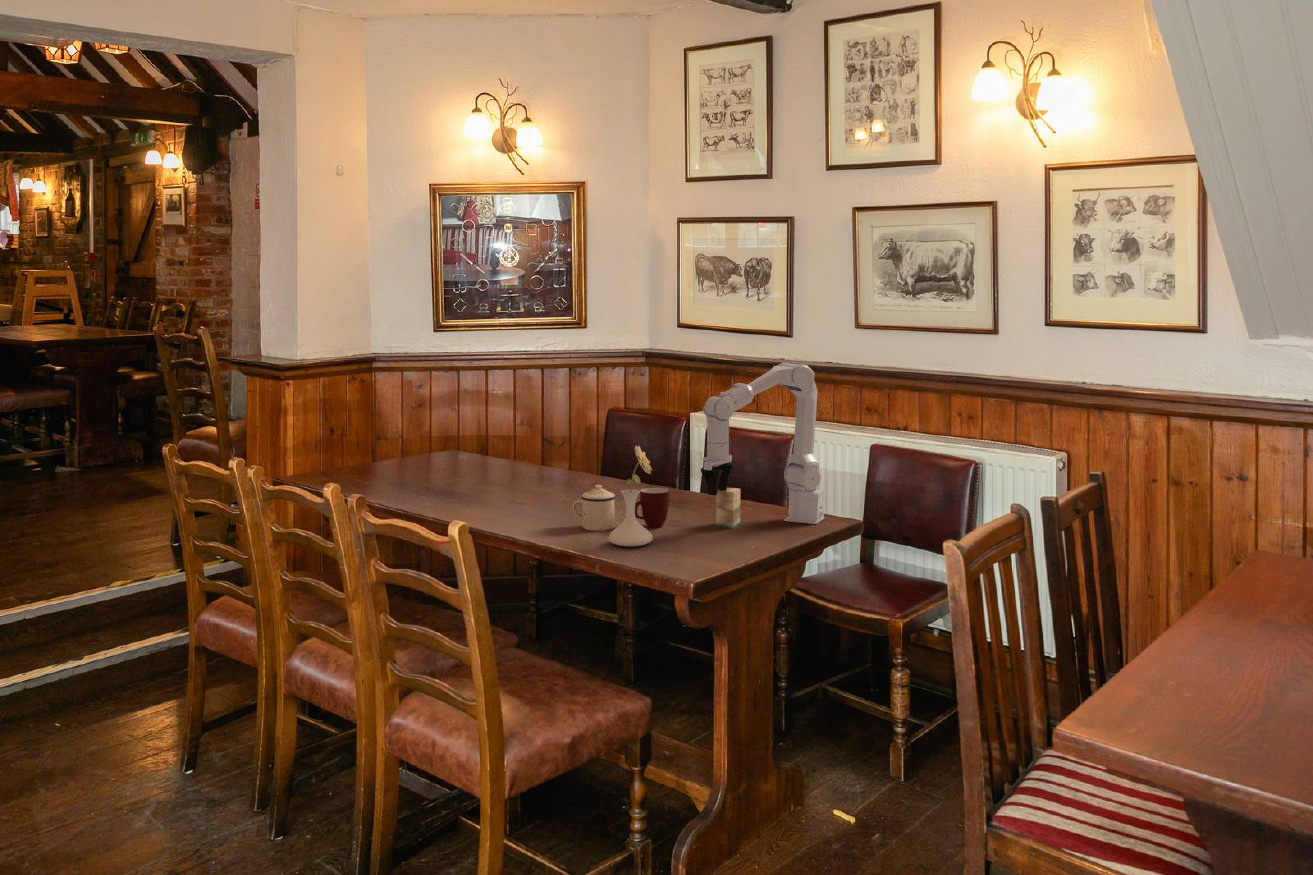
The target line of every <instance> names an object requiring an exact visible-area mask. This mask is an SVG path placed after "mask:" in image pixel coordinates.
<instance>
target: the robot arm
mask: <svg viewBox="0 0 1313 875" xmlns="http://www.w3.org/2000/svg"><path fill="white" fill-rule="evenodd" d="M815 374H816V373H815V371H813V369H812V368H811V367H809V365H806V364H803V363H802V364H797V363H790V362H781V363H779V364H778V365H773V367H772V368H771V369H769V371H767V372H765V373H763V374H761V376H759V377H757V378H755V379H754V380H753V381H751V382H750V383H747V384H746V383H743V382H741V383H739V382H736V383H734V384H733V387H732V388H730V389H728V390H726V391H721V392H719V395H718V396H715V395H714V396H710V397H709V398H708V399H707V400H706V401H705V403H704V406H702V411H703V414H704V415H705V417H706V422H707V423H706V424H707V425H706V431H707V432H706V434H707V437H706V439H707V440H706V443H707V444H706V445H707V446H706V448H707V449H706V455H707V456H705V457H703V458H702V460H703V467H702V468H700V472H701V473H700V474H702V476H703V479H704V481H705V484H706V488H707V492H708V496H716V495H717V493H718V490H719V491H726V490H727V488H729V487H728V486H729V482H730V478H731V475H732V472H733V471H734V469H735V467H736V466H735V463H733V462H732V461H733V460H732V459H733V458H732V457H733V456H732V454H730V419H731V417H732V416H733V415H734V412H736V411H738V410H739V409H741V408H744V407H745V406H747V405H749V404H750V403H752V402H753V401H754V400H753V399H754V396H755V395H758V394H760V393H762V392H764V391H766V390H768V389H770V388H771V387H774V386H777V385H781V386H782V387H784V388H787V389H788V390H790V391H791V393H792V394H793V395H794V396H795V397H796V409H795V410H796V411H795V422H794V423H795V424H794V426H795V427H794V439H793V451H792V452H793V453H792V454H791V456H789V457H788V458H787V464H786V467H785V468H784V471H783V478H784V481H785V482H786V483H787V484H788V485H787V487H788V488H789V489H788V493H789V494H788V516H787V517H785V518H784V519H783V521H785V522H791V523H792V522H793V523H802V524H810V525H811V524H812V525H816V524H818V523H820V522H821V521H823V520H824V519H825V494H824V491H823V490H819V489H817V488H818V486H819V485H820V483H821V480H822V475H821V471H820V463H819V461H818V460H817V458H816V457H815V455H814V451H815V438H816V437H815V435H816V424H817V423H816V421H817V407H818V405H817V404H818V387H817V385H816V381H815V376H816V375H815Z"/></svg>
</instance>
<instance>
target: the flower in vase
mask: <svg viewBox="0 0 1313 875" xmlns="http://www.w3.org/2000/svg"><path fill="white" fill-rule="evenodd" d="M634 453H635V456H636V459H637V461H638V462H637V463H636V465H635V467H634V469H633V473H632V475H631V478H628V479H627V480H626V482H625V483H624V485H626V486H630V487H629V489H623V490H620V493H621V495H622V496H623V498H624V502H625V503H624V504H625V518H624V519H623V520H624V521H623V522H622V523H621V524H619V525H618V526H617V527H616V528H614V529H613V530H612V531H611V532H610V533H609V535H608V541H609V542H610V543H611V544H614V545H615V546H620V547H640V546H645V545H647V544H650V543H652V541H653V539H654V537H653V535H652V533H651V532H650V531H649V530H648V529H647V528H645V527H644V526H643V524H641V523H640V522H638V520H637V518H636V517H635V503H636V502H637V498H638V496H639V495H640V490H639V489H632V488H633V485H634V484H635V483H636V484H637V485H639V484H640V483H641V478H640V476H638V474H635V473H636V471H637V468H638V466H639V465H640V466H641V468H642V469H643V471H644V472H645V473H647V474H648V475H650V474H652V473H651V471H653V469H652V466H651V465H650V464H651V462H650V460H649V459H648V458H647V455H646V452H645V451H642V449H641V446H640V445H638V446H637V445H635V447H634Z"/></svg>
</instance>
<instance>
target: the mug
mask: <svg viewBox="0 0 1313 875" xmlns="http://www.w3.org/2000/svg"><path fill="white" fill-rule="evenodd" d="M639 491H640V493H639V501H636V503H635V518H636V519H638V520H644V523H645V524H646V526H647V527H648V528H650V529H660V528H662V527H663V526H664V524H665V522H666V520H667V518H668V511H669V508H670V507H669V506H670V500H671V491H670V489H669V488H664V487H645V488H641V489H640V490H639ZM639 506H640V508H641V514H642V516H641V515H638V508H639Z"/></svg>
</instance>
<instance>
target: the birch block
mask: <svg viewBox="0 0 1313 875" xmlns="http://www.w3.org/2000/svg"><path fill="white" fill-rule="evenodd" d="M715 496H716V497H715V498H716V499H715V501H716V503H715V504H716V505H715V506H716V507H715V509H716V511H715V526H716V527H719V528H726V527H728V529H735V528H737V527H738V526H740V525H741V488H736V487H727V490H726V491H719V490H718V493H717V495H715ZM734 527H735V528H734Z"/></svg>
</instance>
